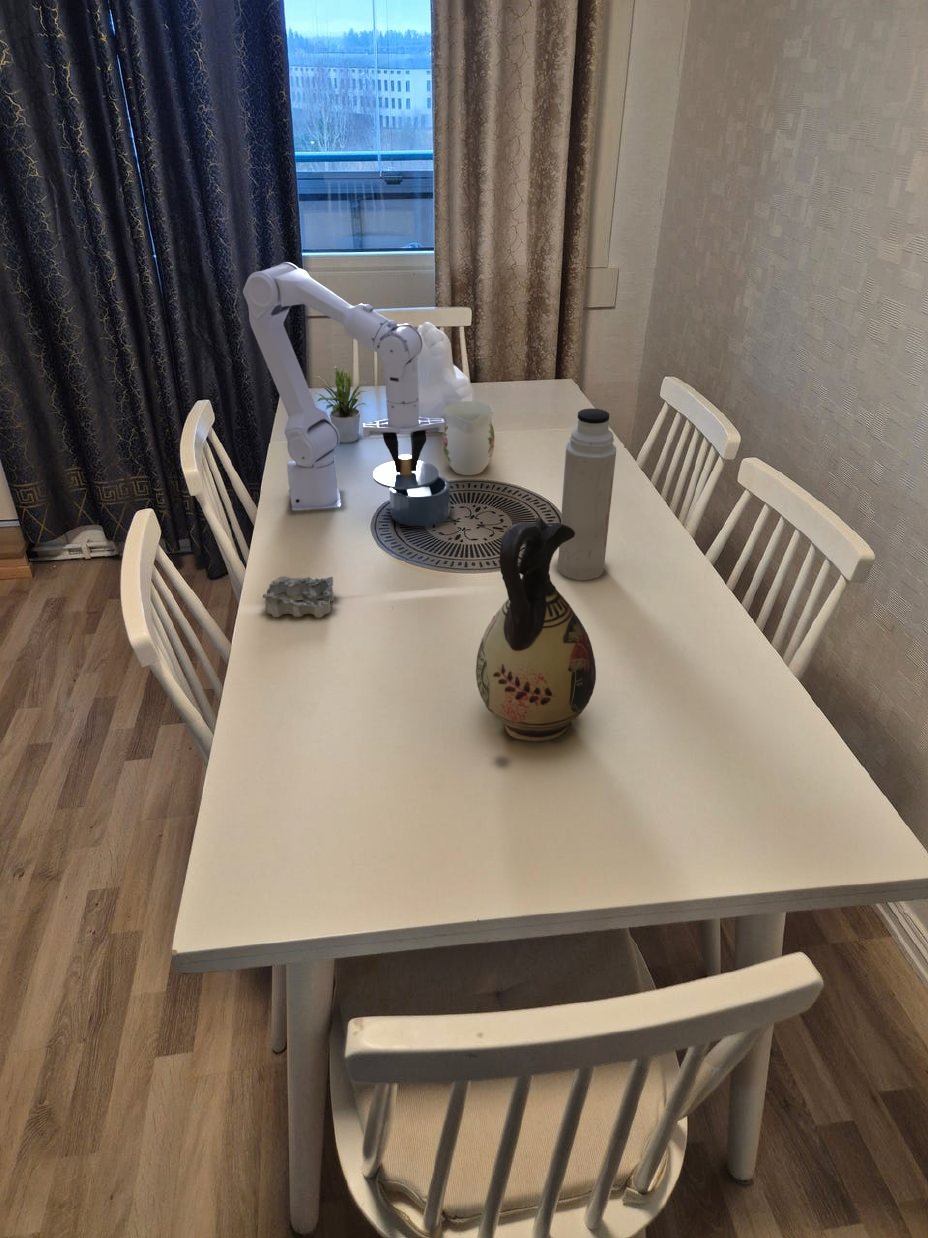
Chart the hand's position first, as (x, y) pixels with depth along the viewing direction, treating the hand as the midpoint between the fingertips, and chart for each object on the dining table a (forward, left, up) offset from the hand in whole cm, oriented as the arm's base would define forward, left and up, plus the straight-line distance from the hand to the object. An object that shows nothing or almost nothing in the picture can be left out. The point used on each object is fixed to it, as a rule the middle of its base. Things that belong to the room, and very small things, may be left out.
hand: (405, 470), depth 156 cm
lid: (0, 0, -1) cm, 1 cm away
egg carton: (-20, -27, -10) cm, 36 cm away
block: (+2, +2, -10) cm, 10 cm away
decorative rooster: (+14, +47, -10) cm, 50 cm away
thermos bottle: (+28, -23, -10) cm, 38 cm away
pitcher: (+16, +23, -10) cm, 29 cm away
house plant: (-10, +45, -10) cm, 47 cm away
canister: (+3, +2, -10) cm, 11 cm away
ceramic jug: (+10, -61, -10) cm, 63 cm away
